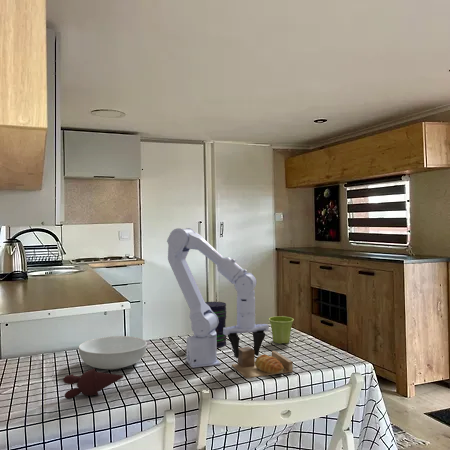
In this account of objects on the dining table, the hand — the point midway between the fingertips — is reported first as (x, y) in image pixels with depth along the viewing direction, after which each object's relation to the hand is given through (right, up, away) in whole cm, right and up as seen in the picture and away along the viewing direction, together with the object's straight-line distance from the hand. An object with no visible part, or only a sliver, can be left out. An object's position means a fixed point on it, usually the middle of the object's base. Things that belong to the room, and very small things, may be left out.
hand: (246, 355), depth 136 cm
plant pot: (+15, -3, +28) cm, 32 cm away
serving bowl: (-42, -4, +2) cm, 42 cm away
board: (+4, -3, -2) cm, 6 cm away
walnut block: (0, -3, 0) cm, 3 cm away
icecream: (-41, -4, -22) cm, 47 cm away
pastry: (+7, -3, -4) cm, 9 cm away
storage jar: (-11, -4, +26) cm, 28 cm away
